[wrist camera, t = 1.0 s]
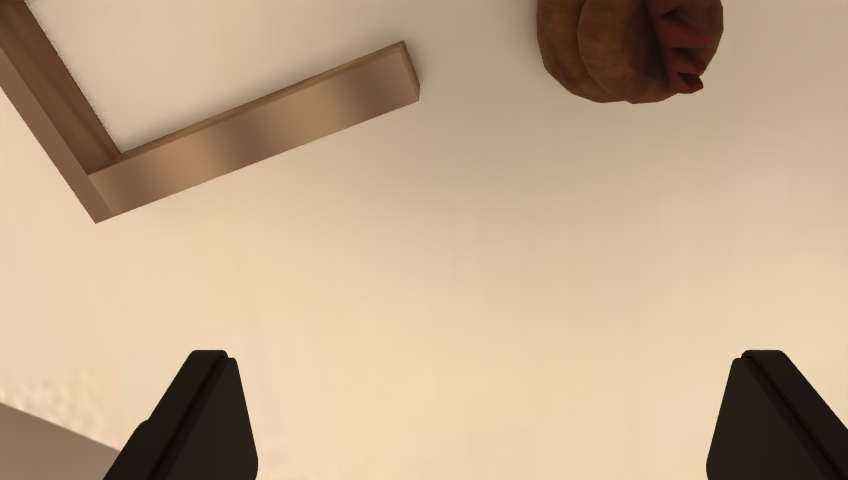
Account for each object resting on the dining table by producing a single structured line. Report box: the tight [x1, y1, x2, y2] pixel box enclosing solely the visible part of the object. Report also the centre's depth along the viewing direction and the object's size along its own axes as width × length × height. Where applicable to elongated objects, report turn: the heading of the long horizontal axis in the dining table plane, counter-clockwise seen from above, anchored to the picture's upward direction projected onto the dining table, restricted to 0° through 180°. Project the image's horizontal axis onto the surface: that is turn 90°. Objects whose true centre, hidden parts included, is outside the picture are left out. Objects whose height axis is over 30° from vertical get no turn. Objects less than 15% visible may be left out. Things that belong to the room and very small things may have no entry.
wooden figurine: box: [537, 0, 723, 104], centre depth 22 cm, size 7×6×15 cm
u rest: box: [0, 0, 420, 224], centre depth 28 cm, size 18×13×4 cm
